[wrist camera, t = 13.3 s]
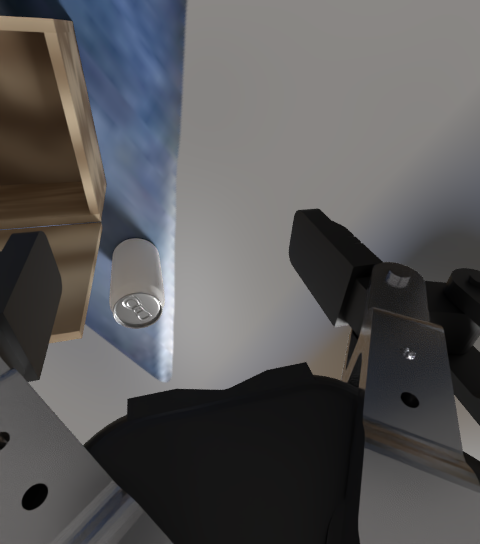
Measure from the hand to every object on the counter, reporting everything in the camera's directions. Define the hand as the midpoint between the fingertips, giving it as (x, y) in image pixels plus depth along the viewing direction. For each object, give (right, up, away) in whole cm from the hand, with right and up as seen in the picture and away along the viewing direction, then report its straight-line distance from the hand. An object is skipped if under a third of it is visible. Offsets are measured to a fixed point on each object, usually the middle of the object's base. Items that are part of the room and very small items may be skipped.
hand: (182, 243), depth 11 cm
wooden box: (-21, +16, +23) cm, 35 cm away
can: (-13, +1, +36) cm, 39 cm away
